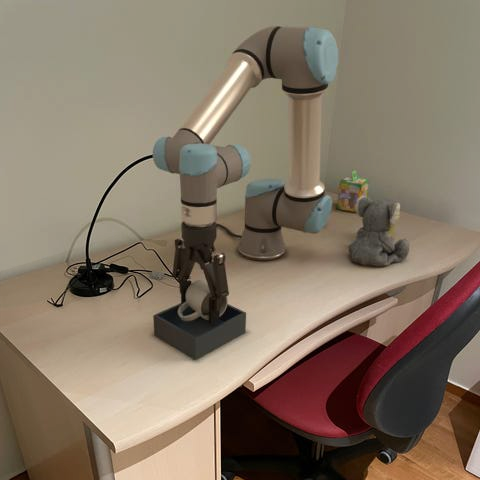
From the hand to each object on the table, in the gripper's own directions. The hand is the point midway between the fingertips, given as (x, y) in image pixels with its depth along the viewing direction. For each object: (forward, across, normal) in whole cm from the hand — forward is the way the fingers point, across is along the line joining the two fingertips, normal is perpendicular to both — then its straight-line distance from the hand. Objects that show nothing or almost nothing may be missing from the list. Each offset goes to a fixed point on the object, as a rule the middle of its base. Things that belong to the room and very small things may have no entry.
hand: (200, 313), depth 121 cm
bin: (+6, 0, 0) cm, 6 cm away
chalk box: (+6, -26, +108) cm, 112 cm away
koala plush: (+6, +6, +70) cm, 71 cm away
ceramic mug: (0, 0, 0) cm, 1 cm away
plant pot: (+6, -2, +88) cm, 89 cm away
